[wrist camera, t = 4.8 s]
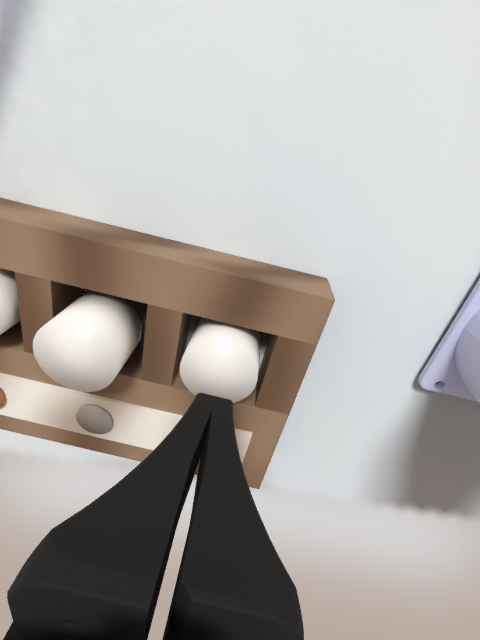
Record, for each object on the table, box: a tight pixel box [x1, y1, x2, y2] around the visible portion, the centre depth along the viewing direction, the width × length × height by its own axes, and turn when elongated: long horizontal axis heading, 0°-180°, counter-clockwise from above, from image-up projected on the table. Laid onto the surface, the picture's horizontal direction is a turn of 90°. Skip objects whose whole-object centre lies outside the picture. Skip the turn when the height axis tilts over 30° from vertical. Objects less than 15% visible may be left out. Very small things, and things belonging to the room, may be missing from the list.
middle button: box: [33, 291, 142, 392], centre depth 15 cm, size 4×4×3 cm
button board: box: [0, 198, 335, 489], centre depth 18 cm, size 20×13×3 cm, turn 77°
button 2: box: [180, 318, 261, 403], centre depth 16 cm, size 4×4×3 cm
